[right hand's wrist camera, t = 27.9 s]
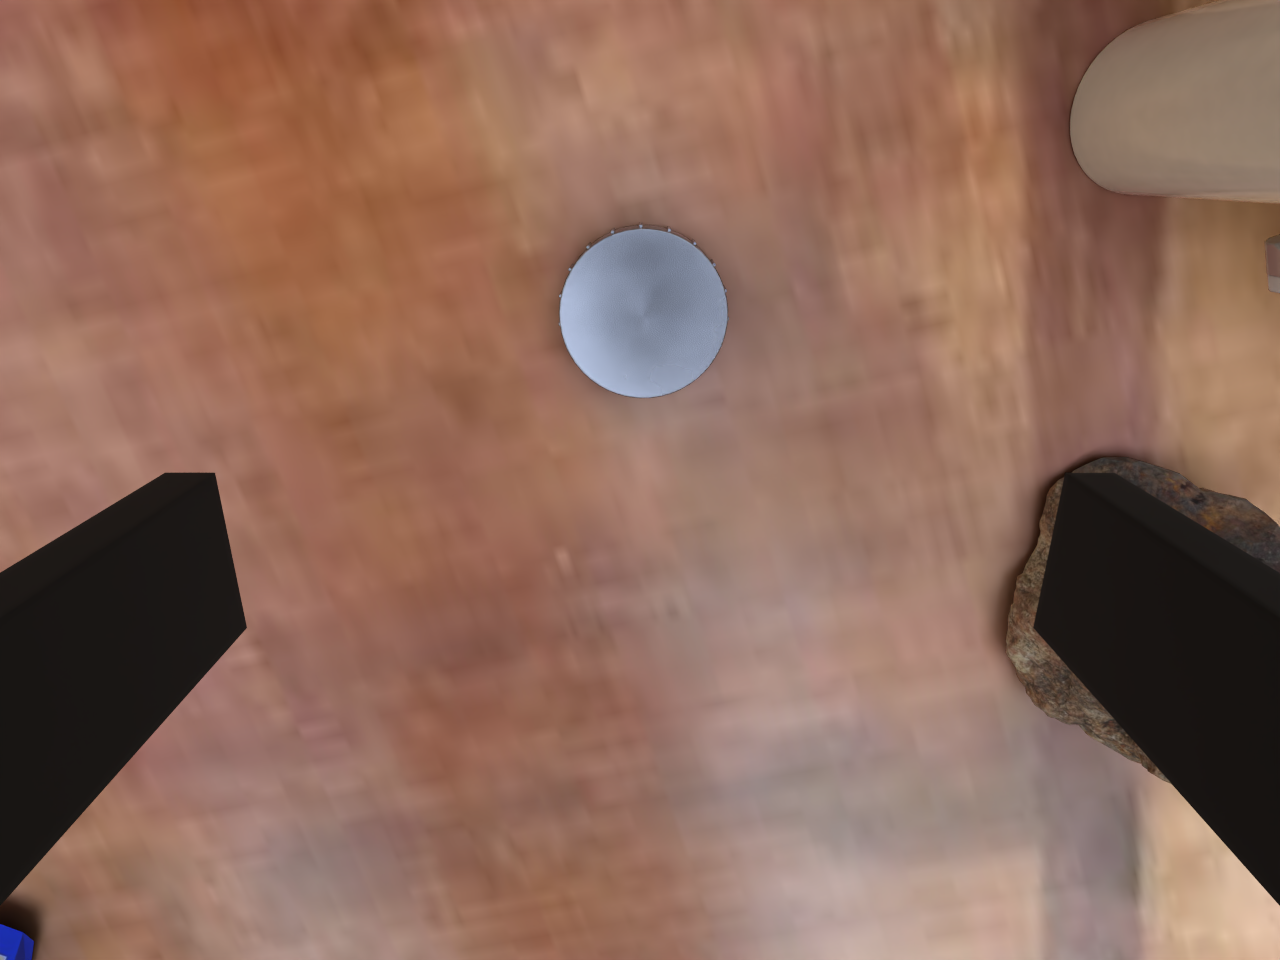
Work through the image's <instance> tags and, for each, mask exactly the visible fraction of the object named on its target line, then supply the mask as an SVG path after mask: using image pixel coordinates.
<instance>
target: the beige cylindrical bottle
mask: <svg viewBox="0 0 1280 960" xmlns="http://www.w3.org/2000/svg"><path fill="white" fill-rule="evenodd" d="M1070 136H1071V144H1072V147H1073V151H1074V154H1075V156H1076V159H1077V161H1078V163H1079V165H1080V166H1081V168H1082V169H1083V171H1084V172H1085V173H1086V174H1087V175H1088V177H1089V178H1090V179H1092V180H1093V181H1094V182H1095V183H1096V184H1098V185H1100V186H1101V187H1103V188H1105V189H1107V190H1110V191H1112V192H1116V193H1120V194H1128V195H1144V196H1161V197H1177V198H1193V199H1210V200H1226V201H1243V202H1259V203H1275V204H1280V0H1219V1H1215V2H1212V3H1208V4H1205V5H1201V6H1198V7H1194V8H1191V9H1187V10H1184V11H1180V12H1176V13H1173V14H1169V15H1166V16H1162V17H1159V18H1155V19H1152V20H1149V21H1146V22H1143V23H1141V24H1138V25H1136V26H1134V27H1132V28H1130V29H1128V30H1127V31H1125V32H1124V33H1122V34H1121V35H1119V36H1118V37H1116V38H1115V39H1114V40H1113V41H1112V42H1111V43H1109V44H1108V45H1107V46H1106V47H1105V48H1104V49H1103V50H1102V51H1101V52H1100V53H1099V54H1098V56H1097V57H1096V58H1095V60H1094V61H1093V62H1092V64H1091V65H1090V66H1089V68H1088V70H1087V71H1086V73H1085V75H1084V76H1083V78H1082V80H1081V82H1080V85H1079V87H1078V89H1077V92H1076V95H1075V98H1074V101H1073V105H1072V110H1071V117H1070Z"/></svg>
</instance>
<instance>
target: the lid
mask: <svg viewBox="0 0 1280 960" xmlns="http://www.w3.org/2000/svg"><path fill="white" fill-rule="evenodd" d="M696 244H697V243H696V242H695V240H693V239H692V240H690V239H688V238H686V237H685V236H683V235H681V234H680V233H678V232H675V231H673V230H671V228H670V227H669V226H667V228H664V227H660V226H653V225H642V223H639V225H634V226H627V227H623V228H620V229H617V230H615V228H613V229H612V230H611V232H610V233H608V234H605V235H604V236H602V237H601V238H599V239H597V240H596V241H595V242H594V243H592V244H591V242H590V243H589V244H588V245H587V247H586V248H587V249H586V250H585V251H584V252H583V253H582V254H581V256H580V257H579V259H578V260H577V262H576V263H575V264H572V265H571V266H570V268H569V269H568V270H569V271H570V273H569V275H568V276H567V278H566V281H565V284H564V286H563V289H562V291H561V293H560V295H559V297H560V306H559V321H560V322H559V326H560V328H561V334H562V337H563V340H564V343H565V346H566V348H567V351H568V352H569V354H570V356H571V357H572V359H573V361H574V362H575V364H576V365H577V366H578V367H579V368H580V370H581V371H582V372H583V373H584V374H585V375H586V376H587V377H588V378H589V379H591V380H592V381H593V382H595V383H596V384H598V385H599V386H601V387H603V388H605V389H606V390H608V391H611V392H614V393H616V394H619V395H623V396H627V397H634V398H653V397H660V396H664V395H667V394H671V393H673V392H676V391H678V390H681V389H682V388H684V387H686V386H688V385H689V384H691V383H692V382H693V381H695V380H696V379H697V378H699V377H700V376H701V375H702V374H703V373H704V372H705V371H706V370H707V368H708V367H709V366H710V365H711V363H712V362H713V361H714V359H715V357H716V356H717V354H718V352H719V350H720V348H721V346H722V343H723V340H724V337H725V333H726V328H727V322H728V320H729V317H728V306H727V297H726V293H725V292H727V290H726V288H725V287H724V285H723V283H722V281H721V278H720V276H719V274H718V272H717V271H716V269H715V267H714V266H716V264H715V263H714V261H713V260H712V259H711V260H709V259H708V257H707V256H706V255H705V253H704V252H703V251H702V250H701V249H700V248H699V247H698V246H697V245H696Z"/></svg>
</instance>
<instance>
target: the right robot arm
mask: <svg viewBox="0 0 1280 960" xmlns="http://www.w3.org/2000/svg"><path fill="white" fill-rule="evenodd" d="M246 628H247V626H246V621H245V617H244V612H243V607H242V602H241V597H240V592H239V587H238V583H237V578H236V573H235V568H234V563H233V558H232V554H231V549H230V544H229V539H228V534H227V529H226V524H225V520H224V515H223V510H222V505H221V500H220V495H219V490H218V486H217V481H216V476H215V473H164V474H162V475H161V476H159V477H157V478H156V479H154V480H153V481H151V482H149V483H148V484H146V485H144V486H143V487H141V488H139V489H138V490H136V491H134V492H133V493H131V494H129V495H128V496H126V497H124V498H123V499H121V500H120V501H118V502H116V503H115V504H113V505H111V506H110V507H108V508H106V509H105V510H103V511H101V512H100V513H98V514H96V515H95V516H93V517H91V518H90V519H88V520H87V521H85V522H83V523H82V524H80V525H78V526H77V527H75V528H73V529H72V530H70V531H68V532H67V533H65V534H63V535H62V536H60V537H59V538H57V539H55V540H54V541H52V542H50V543H49V544H47V545H45V546H44V547H42V548H40V549H39V550H37V551H35V552H34V553H32V554H30V555H29V556H27V557H26V558H24V559H22V560H21V561H19V562H17V563H16V564H14V565H12V566H11V567H9V568H7V569H6V570H4V571H2V572H1V573H0V905H1V904H2V903H3V902H4V901H5V900H6V899H7V897H8V896H9V895H10V894H11V893H12V892H13V891H14V889H15V888H16V887H17V886H18V885H19V884H20V883H21V882H22V880H23V879H24V878H25V877H26V876H27V875H28V874H29V873H30V871H31V870H32V869H33V868H34V867H35V866H36V865H37V864H38V862H39V861H40V860H41V859H42V858H43V857H44V856H45V855H46V853H47V852H48V851H49V850H50V849H51V848H52V847H53V846H54V844H55V843H56V842H57V841H58V840H59V839H60V838H61V837H62V835H63V834H64V833H65V832H66V831H67V830H68V829H69V828H70V826H71V825H72V824H73V823H74V822H75V821H76V820H77V819H78V817H79V816H80V815H81V814H82V813H83V812H84V811H85V810H86V808H87V807H88V806H89V805H90V804H91V803H92V802H93V800H94V799H95V798H96V797H97V796H98V795H99V794H100V793H101V791H102V790H103V789H104V788H105V787H106V786H107V785H108V784H109V782H110V781H111V780H112V779H113V778H114V777H115V776H116V775H117V773H118V772H119V771H120V770H121V769H122V768H123V767H124V766H125V764H126V763H127V762H128V761H129V760H130V759H131V758H132V757H133V755H134V754H135V753H136V752H137V751H138V750H139V749H140V748H141V746H142V745H143V744H144V743H145V742H146V741H147V740H148V739H149V737H150V736H151V735H152V734H153V733H154V732H155V731H156V730H157V728H158V727H159V726H160V725H161V724H162V723H163V722H164V721H165V719H166V718H167V717H168V716H169V715H170V714H171V713H172V711H173V710H174V709H175V708H176V707H177V706H178V705H179V704H180V702H181V701H182V700H183V699H184V698H185V697H186V696H187V695H188V693H189V692H190V691H191V690H192V689H193V688H194V687H195V686H196V684H197V683H198V682H199V681H200V680H201V679H202V678H203V677H204V675H205V674H206V673H207V672H208V671H209V670H210V669H211V668H212V666H213V665H214V664H215V663H216V662H217V661H218V660H219V659H220V657H221V656H222V655H223V654H224V653H225V652H226V651H227V650H228V648H229V647H230V646H231V645H232V644H233V643H234V642H235V641H236V639H237V638H238V637H239V636H240V635H241V634H242V633H243V632H244V630H245V629H246ZM1033 628H1034V629H1035V630H1036V632H1037V633H1038V634H1039V635H1040V636H1041V637H1042V638H1043V639H1044V641H1045V642H1046V643H1047V644H1048V645H1049V646H1050V647H1051V648H1052V650H1053V651H1054V652H1055V653H1056V654H1057V655H1058V656H1059V657H1060V659H1061V660H1062V661H1063V662H1064V663H1065V664H1066V665H1067V666H1068V668H1069V669H1070V670H1071V671H1072V672H1073V673H1074V674H1075V675H1076V677H1077V678H1078V679H1079V680H1080V681H1081V682H1082V683H1083V684H1084V686H1085V687H1086V688H1087V689H1088V690H1089V691H1090V692H1091V693H1092V695H1093V696H1094V697H1095V698H1096V699H1097V700H1098V701H1099V702H1100V704H1101V705H1102V706H1103V707H1104V708H1105V709H1106V710H1107V712H1108V713H1109V714H1110V715H1111V716H1112V717H1113V718H1114V719H1115V721H1116V722H1117V723H1118V724H1119V725H1120V726H1121V727H1122V728H1123V730H1124V731H1125V732H1126V733H1127V734H1128V735H1129V736H1130V737H1131V739H1132V740H1133V741H1134V742H1135V743H1136V744H1137V745H1138V746H1139V748H1140V749H1141V750H1142V751H1143V752H1144V753H1145V754H1146V755H1147V757H1148V758H1149V759H1150V760H1151V761H1152V762H1153V763H1154V764H1155V766H1156V767H1157V768H1158V769H1159V770H1160V771H1161V772H1162V773H1163V775H1164V776H1165V777H1166V778H1167V779H1168V780H1169V781H1170V782H1171V784H1172V785H1173V786H1174V787H1175V788H1176V789H1177V790H1178V791H1179V793H1180V794H1181V795H1182V796H1183V797H1184V798H1185V799H1186V800H1187V802H1188V803H1189V804H1190V805H1191V806H1192V807H1193V808H1194V810H1195V811H1196V812H1197V813H1198V814H1199V815H1200V816H1201V817H1202V819H1203V820H1204V821H1205V822H1206V823H1207V824H1208V825H1209V826H1210V828H1211V829H1212V830H1213V831H1214V832H1215V833H1216V834H1217V835H1218V837H1219V838H1220V839H1221V840H1222V841H1223V842H1224V843H1225V844H1226V846H1227V847H1228V848H1229V849H1230V850H1231V851H1232V852H1233V853H1234V855H1235V856H1236V857H1237V858H1238V859H1239V860H1240V861H1241V862H1242V864H1243V865H1244V866H1245V867H1246V868H1247V869H1248V870H1249V871H1250V873H1251V874H1252V875H1253V876H1254V877H1255V878H1256V879H1257V880H1258V882H1259V883H1260V884H1261V885H1262V886H1263V887H1264V888H1265V889H1266V891H1267V892H1268V893H1269V894H1270V895H1271V896H1272V897H1273V899H1274V900H1275V901H1276V902H1277V903H1278V904H1279V905H1280V573H1279V572H1278V571H1276V570H1274V569H1273V568H1271V567H1269V566H1268V565H1266V564H1264V563H1263V562H1261V561H1259V560H1258V559H1256V558H1254V557H1253V556H1251V555H1250V554H1248V553H1246V552H1245V551H1243V550H1241V549H1240V548H1238V547H1236V546H1235V545H1233V544H1231V543H1230V542H1228V541H1226V540H1225V539H1223V538H1221V537H1220V536H1218V535H1217V534H1215V533H1213V532H1212V531H1210V530H1208V529H1207V528H1205V527H1203V526H1202V525H1200V524H1198V523H1197V522H1195V521H1193V520H1192V519H1190V518H1189V517H1187V516H1185V515H1184V514H1182V513H1180V512H1179V511H1177V510H1175V509H1174V508H1172V507H1170V506H1169V505H1167V504H1165V503H1164V502H1162V501H1160V500H1159V499H1157V498H1156V497H1154V496H1152V495H1151V494H1149V493H1147V492H1146V491H1144V490H1142V489H1141V488H1139V487H1137V486H1136V485H1134V484H1132V483H1131V482H1129V481H1127V480H1126V479H1124V478H1123V477H1121V476H1119V475H1118V474H1116V473H1065V476H1064V481H1063V486H1062V490H1061V495H1060V500H1059V505H1058V510H1057V515H1056V520H1055V524H1054V529H1053V534H1052V539H1051V544H1050V549H1049V554H1048V558H1047V563H1046V568H1045V573H1044V578H1043V583H1042V587H1041V592H1040V597H1039V602H1038V607H1037V612H1036V617H1035V621H1034V626H1033Z"/></svg>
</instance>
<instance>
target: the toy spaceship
mask: <svg viewBox="0 0 1280 960" xmlns="http://www.w3.org/2000/svg"><path fill="white" fill-rule="evenodd" d="M33 945H34V941H33V940H32V939H30V938H29V937H28V936H27V935H26V934H25V933H23V932H21V931H18V930H15V929H12V928H10V927H7V926H4V925H1V924H0V960H32V953H33Z"/></svg>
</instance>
